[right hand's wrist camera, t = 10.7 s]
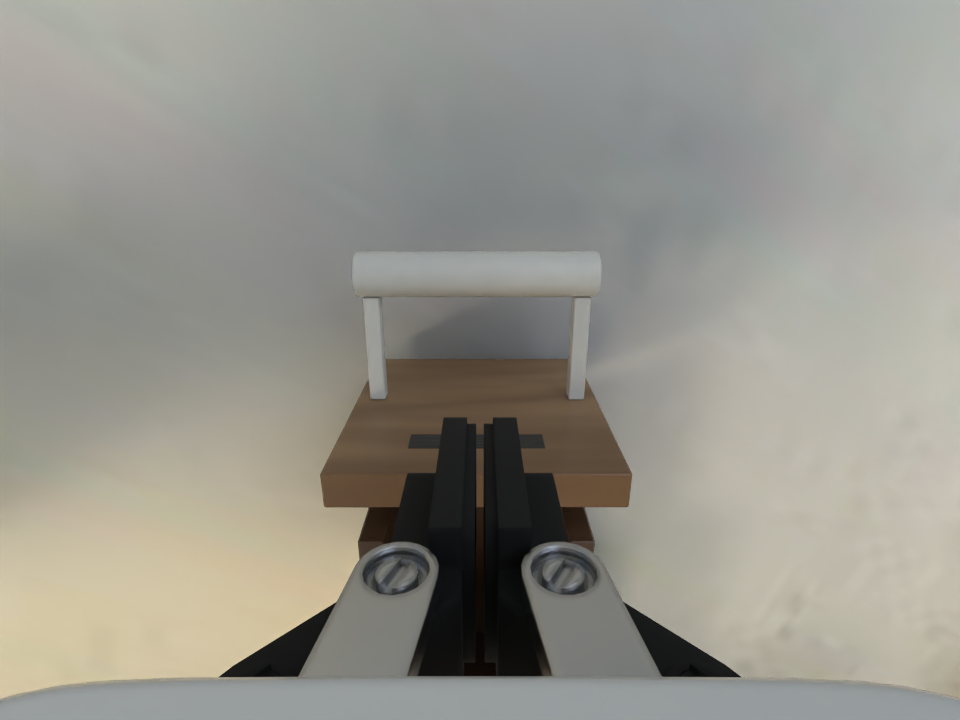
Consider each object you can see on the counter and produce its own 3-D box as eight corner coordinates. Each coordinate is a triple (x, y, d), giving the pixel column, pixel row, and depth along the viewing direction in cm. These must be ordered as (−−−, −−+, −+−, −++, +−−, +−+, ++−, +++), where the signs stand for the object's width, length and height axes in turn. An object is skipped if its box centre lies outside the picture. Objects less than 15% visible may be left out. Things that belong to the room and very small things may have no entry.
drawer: (369, 235, 23) (296, 285, 14) (585, 235, 23) (654, 285, 14) (397, 625, 31) (361, 824, 21) (559, 625, 31) (593, 823, 21)
